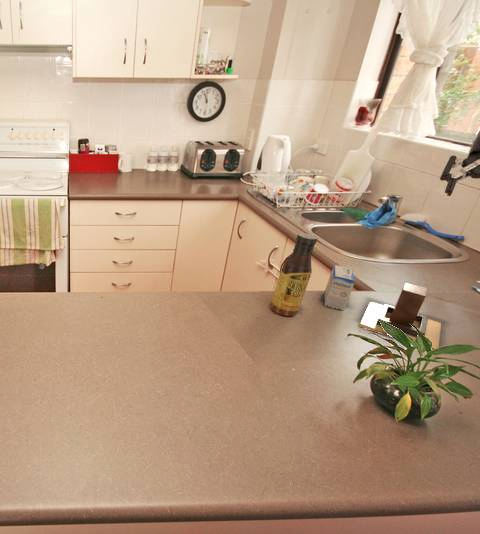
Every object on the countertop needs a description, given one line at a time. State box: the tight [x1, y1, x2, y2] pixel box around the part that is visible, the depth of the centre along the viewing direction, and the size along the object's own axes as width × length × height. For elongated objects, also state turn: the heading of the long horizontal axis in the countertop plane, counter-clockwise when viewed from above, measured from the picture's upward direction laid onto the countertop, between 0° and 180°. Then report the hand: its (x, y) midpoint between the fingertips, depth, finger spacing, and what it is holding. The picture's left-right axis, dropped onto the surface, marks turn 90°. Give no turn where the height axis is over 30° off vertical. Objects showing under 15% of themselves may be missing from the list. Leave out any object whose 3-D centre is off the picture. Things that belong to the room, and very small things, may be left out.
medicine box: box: [323, 264, 356, 311], centre depth 98 cm, size 8×4×9 cm, turn 150°
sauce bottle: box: [270, 232, 318, 317], centre depth 91 cm, size 7×6×20 cm
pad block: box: [389, 282, 428, 327], centre depth 88 cm, size 4×5×9 cm
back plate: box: [358, 301, 442, 350], centre depth 90 cm, size 14×14×2 cm
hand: (473, 197), depth 91 cm, fingers open, 8 cm apart
